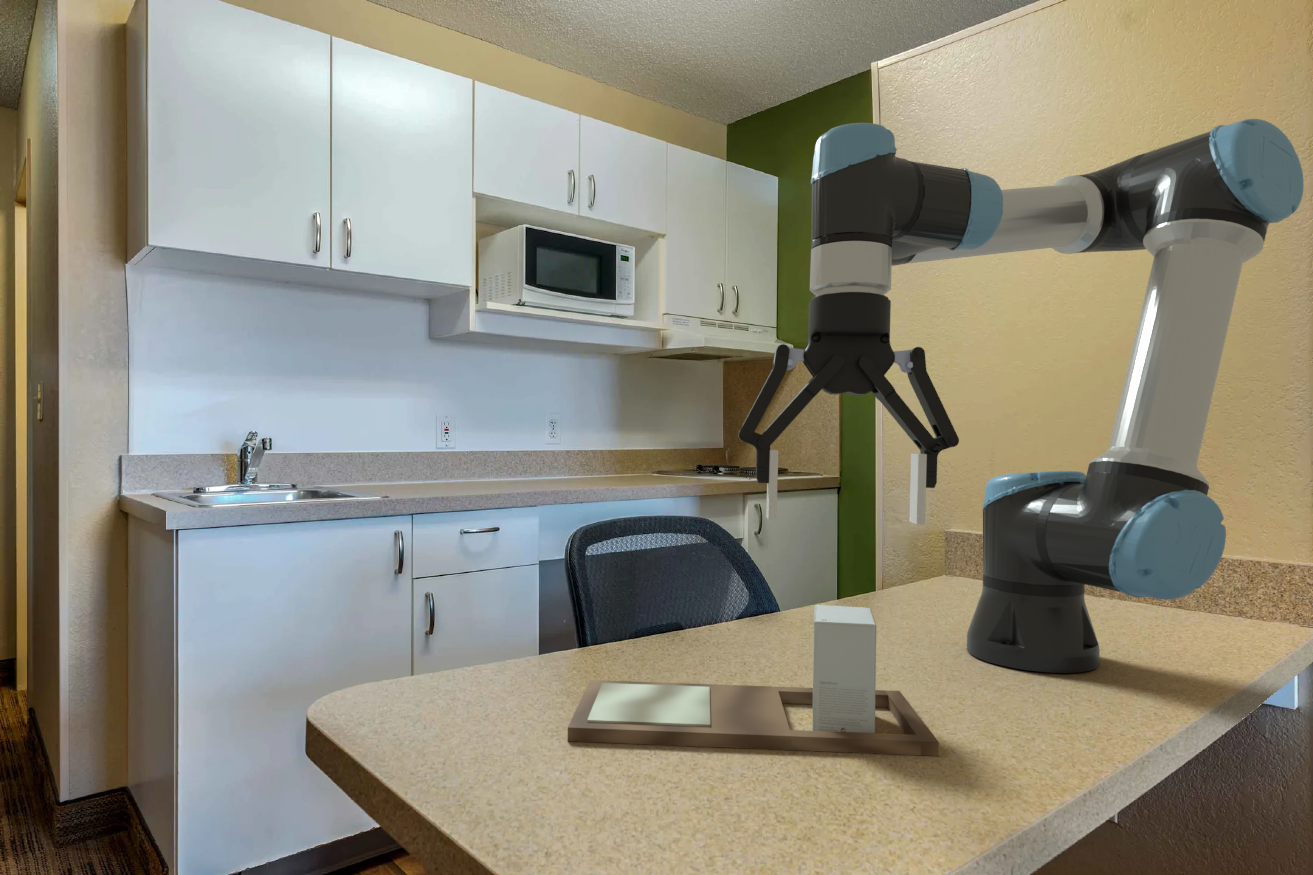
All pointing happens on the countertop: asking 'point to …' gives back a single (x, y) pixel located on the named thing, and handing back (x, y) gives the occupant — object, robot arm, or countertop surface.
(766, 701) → the board
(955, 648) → the countertop surface
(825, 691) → the small box
